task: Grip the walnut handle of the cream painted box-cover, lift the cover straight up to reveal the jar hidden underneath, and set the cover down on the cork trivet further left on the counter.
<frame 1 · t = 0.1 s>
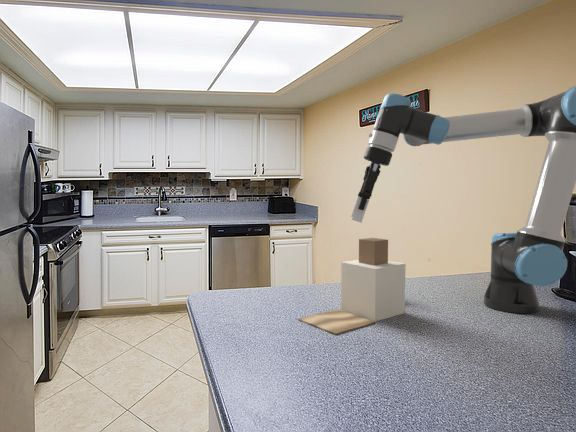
hand: (355, 219, 120), 28 cm above the countertop, tool tilted 20°, fingers open, 13 cm apart
trivet: (336, 321, 114), on the countertop
cover: (372, 311, 123), on the countertop
jar: (372, 312, 124), on the countertop
ink bottle: (373, 297, 141), on the countertop
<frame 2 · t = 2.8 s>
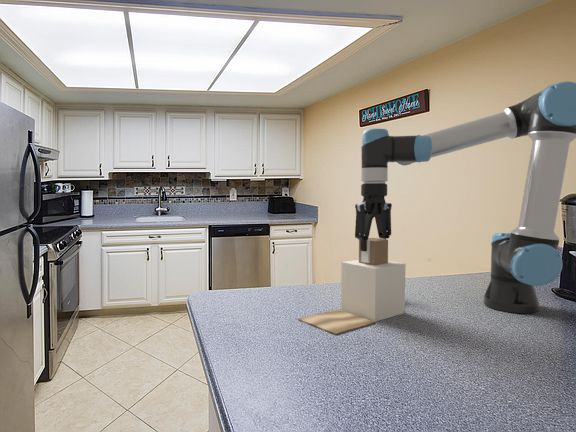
hand: (373, 260, 122), 15 cm above the countertop, tool pointing down, fingers closed on cover, 6 cm apart
cover: (372, 311, 123), on the countertop, touching gripper
everything else where it was.
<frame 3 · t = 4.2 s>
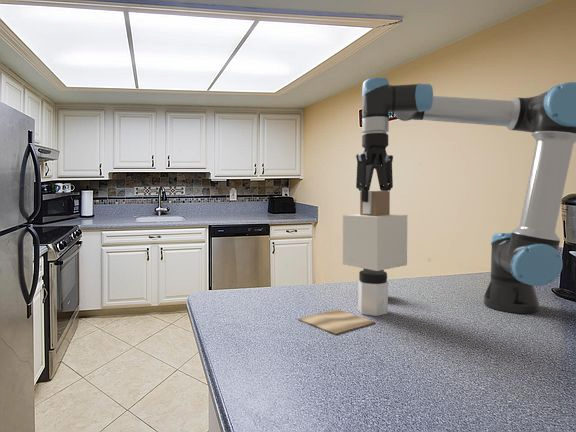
hand: (374, 212, 121), 30 cm above the countertop, tool pointing down, fingers closed on cover, 6 cm apart
cover: (374, 264, 122), point 14 cm above the countertop, touching gripper
everything else where it was.
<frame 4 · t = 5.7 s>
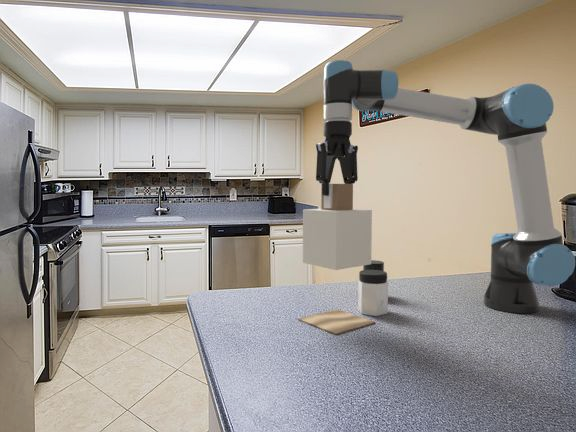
hand: (337, 207, 112), 32 cm above the countertop, tool pointing down, fingers closed on cover, 6 cm apart
cover: (336, 263, 113), point 16 cm above the countertop, touching gripper
everything else where it was.
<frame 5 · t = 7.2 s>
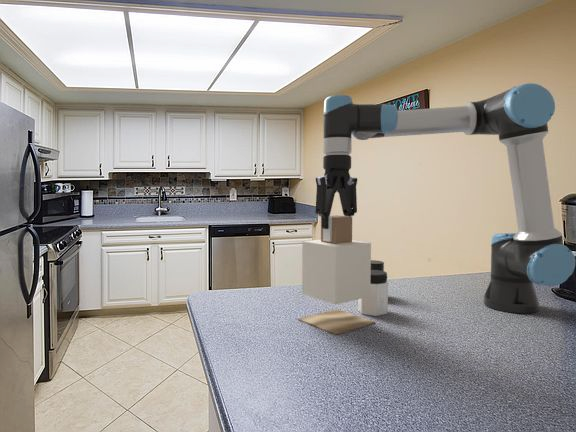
hand: (336, 239, 113), 23 cm above the countertop, tool pointing down, fingers closed on cover, 6 cm apart
cover: (335, 295, 114), point 7 cm above the countertop, touching gripper
everything else where it was.
when the fingers open (17 cm above the countertop, at t = 8.6 s): cover drops 1 cm, resting on trivet.
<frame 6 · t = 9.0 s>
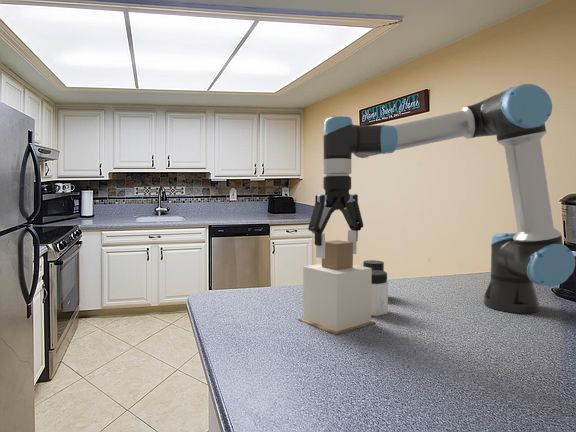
hand: (336, 255, 113), 18 cm above the countertop, tool pointing down, fingers open, 11 cm apart
cover: (336, 320, 114), resting on trivet
everything else where it was.
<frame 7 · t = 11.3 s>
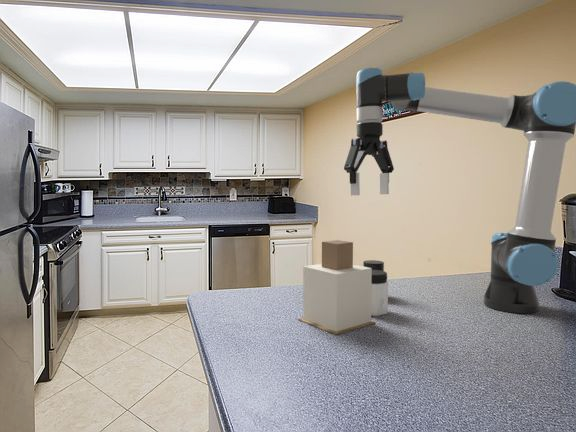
hand: (370, 194, 124), 35 cm above the countertop, tool pointing down, fingers open, 13 cm apart
nothing on the countertop moved.
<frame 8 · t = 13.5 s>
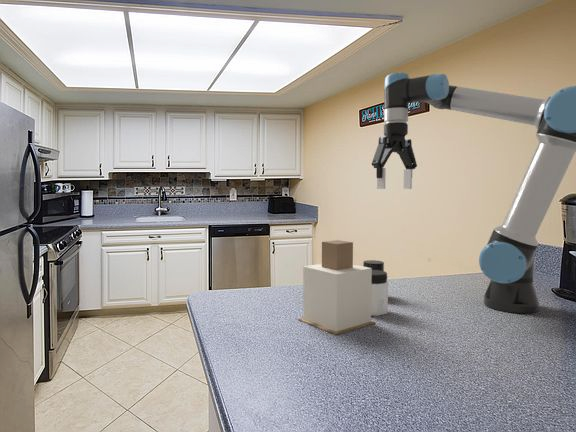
hand: (394, 188, 135), 37 cm above the countertop, tool pointing down, fingers open, 13 cm apart
nothing on the countertop moved.
at the end: cover inside the target area on the trivet (0.2 cm from its centre), point 0.4 cm above the trivet's base; cover tilted 0°; the gripper is holding nothing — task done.
